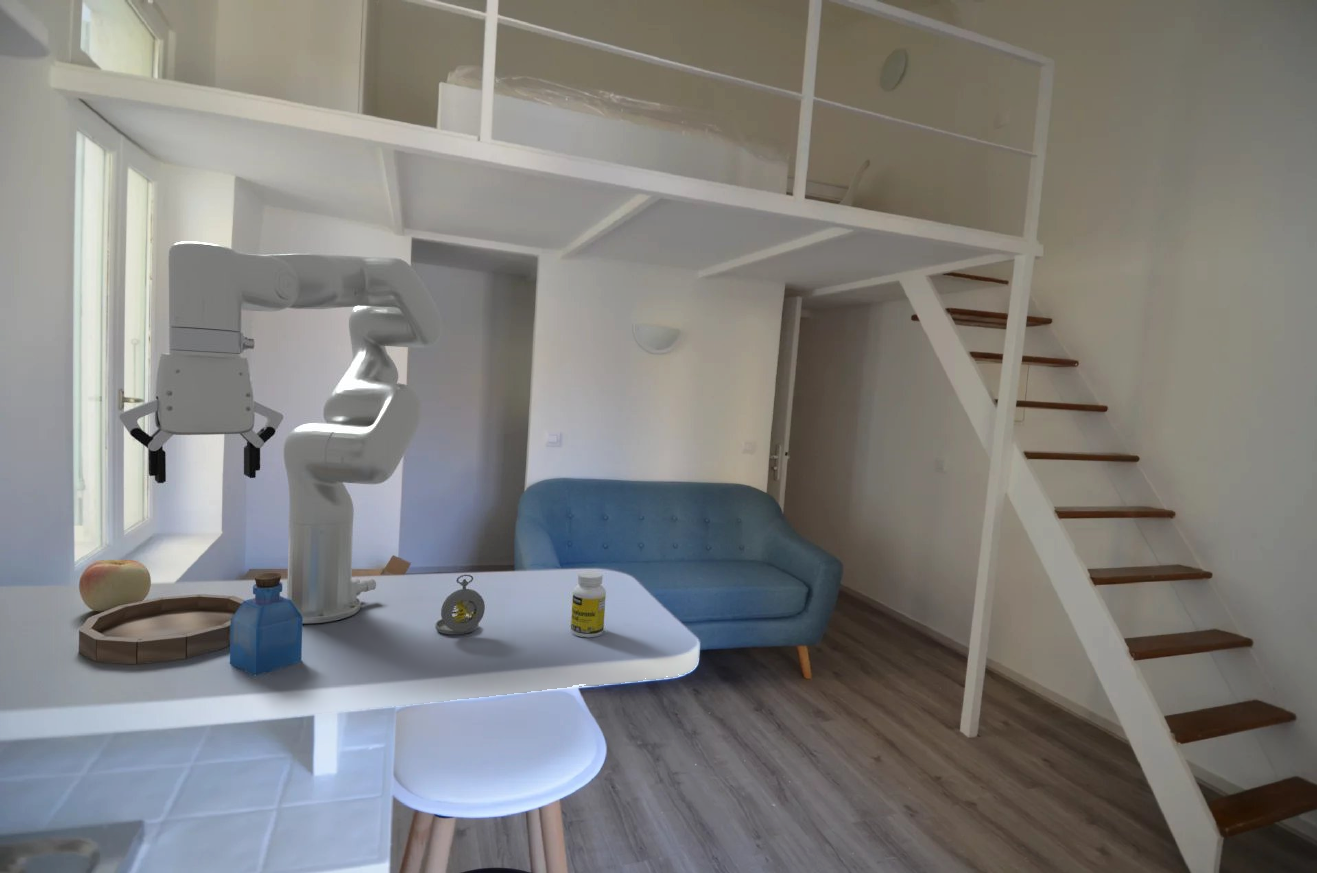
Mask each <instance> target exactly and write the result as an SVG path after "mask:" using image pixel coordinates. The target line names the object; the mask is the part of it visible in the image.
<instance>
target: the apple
mask: <svg viewBox="0 0 1317 873" xmlns="http://www.w3.org/2000/svg"><path fill="white" fill-rule="evenodd" d="M151 579H152V578H151V574H150V571H149V569H148V568H147V567H146V566H145V565H144V564H143V563H142V562H140V561H137V560H133V559H105V560H104V559H102V560H97V561H94V562H93V563H91V564H90V565H88V566H87V567H86V568H85V569H84V571H83V572H82V574H81V576H80V578H79V583H78V588H79V589H78V590H79V595H80V597H81V599H82V601H83V602H84V603H83V604H85V606H86V607H87V608H88V609H91V611H94V612H98V613H102V612H104V611H107V610H110V609H112V608H115V607H117V606H120V605H125V604H130V603H135V602H140V601H145V599H146V598H147V596H148V595H149V593H150V591H151V585H152V580H151Z"/></svg>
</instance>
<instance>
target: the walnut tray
mask: <svg viewBox="0 0 1317 873" xmlns="http://www.w3.org/2000/svg"><path fill="white" fill-rule="evenodd" d="M244 600H245V599H243V598H241V597H238V596H235V595H223V594H220V595H219V594H206V593H200V594H188V595H174V596H173V595H172V596H162V597H157V598H151V599H146V600H145V599H144V600H143V601H140V602H135V603H130V604H125V605H120V606H117V607H115V608H112V609H110V610H107V611H101V612H98V613H97V614H95V615H92V616H90V617H88V618H87V619H86V620H85V621H84V622H83V624H82V626H81V627H80V628H79V629H78V652H79V653H80V654H81V655H84V656H85V657H86V658H89V659H91V661H92V660H93V661H94V662H96V663H111V664H114V663H115V664H125V665H126V664H127V665H141V664H150V663H158V662H159V663H160V662H168V661H176V660H184V659H189V658H192V657H196V656H200V655H203V654H207V653H211V652H214V651H218V650H221V649H224V648H228V647H230V631H231V618H232V616H233V615H234V614H235V612H236V611H237V610H238V608H239V607H240V606H241V604H242V603H243V601H244Z"/></svg>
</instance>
